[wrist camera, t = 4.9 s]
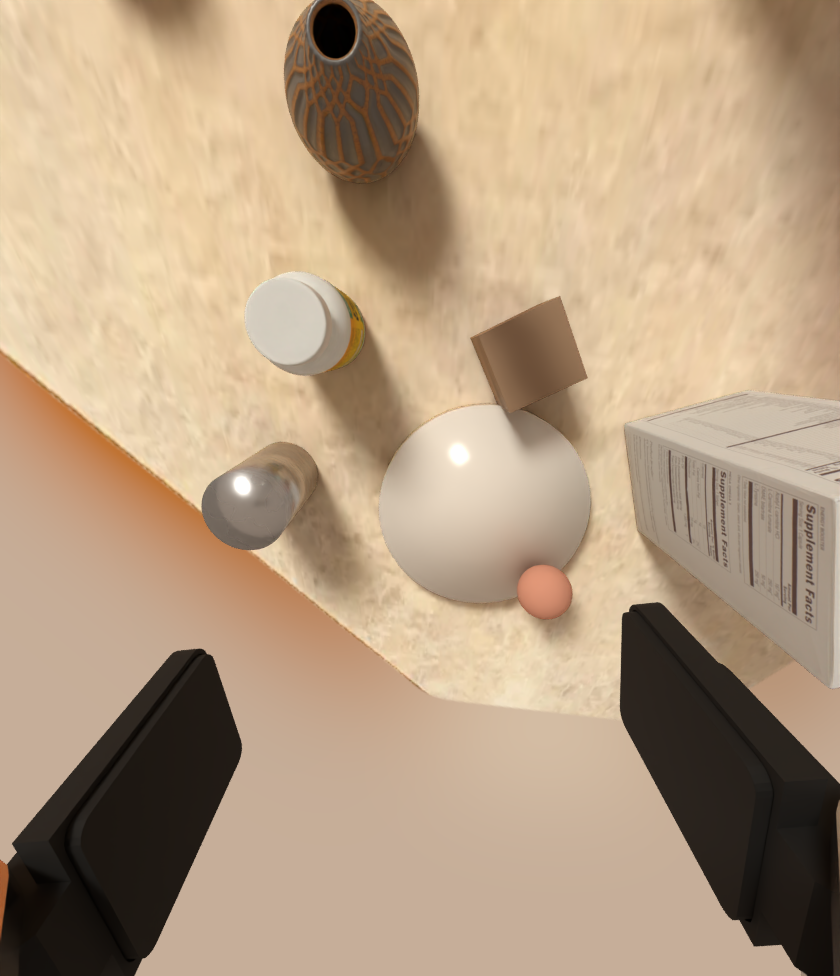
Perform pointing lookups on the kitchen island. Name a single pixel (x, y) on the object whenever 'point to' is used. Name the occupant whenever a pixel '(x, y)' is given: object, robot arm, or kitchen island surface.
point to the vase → (351, 88)
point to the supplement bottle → (304, 324)
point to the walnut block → (530, 356)
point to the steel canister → (259, 496)
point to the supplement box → (751, 511)
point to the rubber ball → (544, 591)
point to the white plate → (483, 502)
